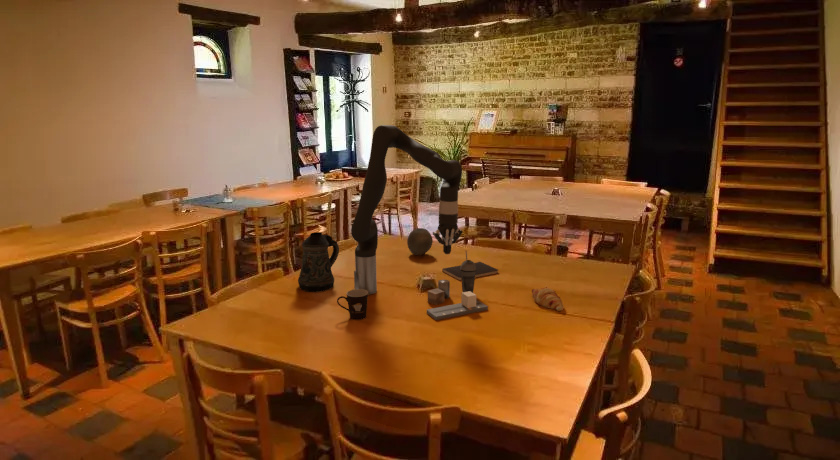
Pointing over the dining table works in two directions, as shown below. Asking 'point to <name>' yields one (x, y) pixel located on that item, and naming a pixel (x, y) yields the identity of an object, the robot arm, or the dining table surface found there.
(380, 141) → the robot arm
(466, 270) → the beverage cup
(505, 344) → the dining table surface
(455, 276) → the hardcover book
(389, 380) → the dining table surface
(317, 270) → the beer stein
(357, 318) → the coffee mug
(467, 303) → the knob
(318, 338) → the dining table surface
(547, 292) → the croissant
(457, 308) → the board
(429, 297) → the walnut block
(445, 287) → the metal canister
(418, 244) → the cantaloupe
